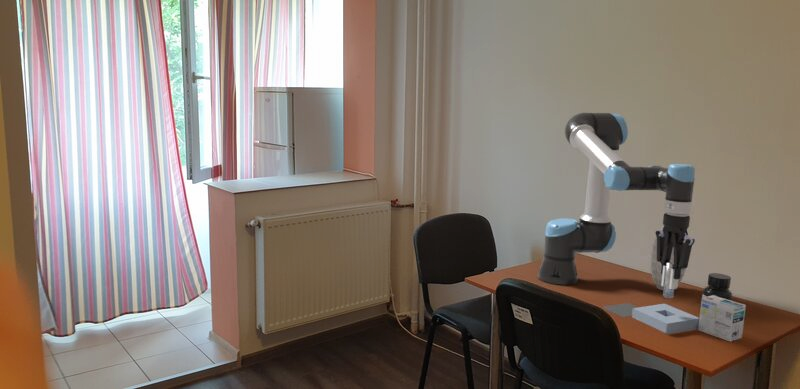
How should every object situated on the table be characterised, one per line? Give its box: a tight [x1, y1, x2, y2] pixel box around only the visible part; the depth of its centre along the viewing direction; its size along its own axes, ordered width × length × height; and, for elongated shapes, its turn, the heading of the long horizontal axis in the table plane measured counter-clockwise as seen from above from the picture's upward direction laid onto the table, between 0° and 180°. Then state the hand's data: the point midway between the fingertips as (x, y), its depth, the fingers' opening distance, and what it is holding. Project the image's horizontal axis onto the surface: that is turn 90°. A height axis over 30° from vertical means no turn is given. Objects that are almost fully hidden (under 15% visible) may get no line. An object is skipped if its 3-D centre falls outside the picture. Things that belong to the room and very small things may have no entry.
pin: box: [662, 262, 675, 299], centre depth 196 cm, size 3×3×11 cm
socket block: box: [631, 303, 699, 335], centre depth 198 cm, size 14×14×4 cm
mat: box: [601, 302, 638, 318], centre depth 209 cm, size 10×12×1 cm
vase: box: [650, 224, 687, 292], centre depth 232 cm, size 13×13×28 cm
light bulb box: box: [697, 295, 747, 342], centre depth 190 cm, size 11×7×11 cm, turn 33°
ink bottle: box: [701, 272, 733, 301], centre depth 213 cm, size 10×9×12 cm
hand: (669, 286), depth 196 cm, fingers closed on pin, 2 cm apart
